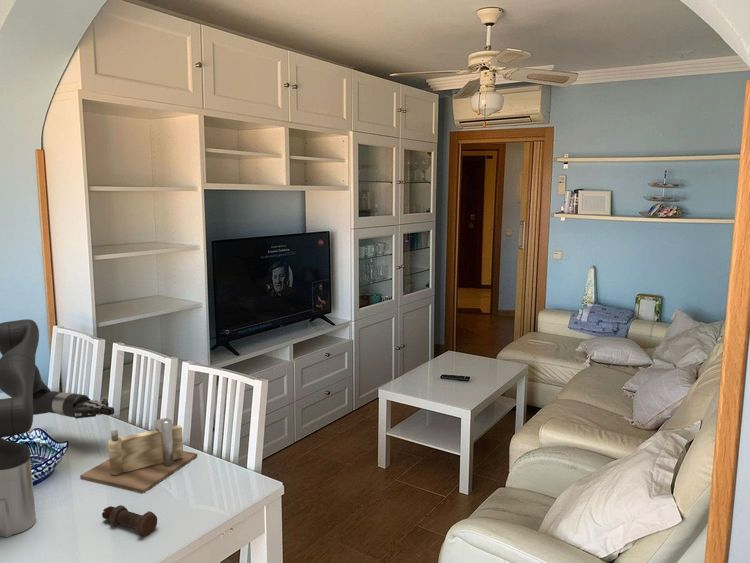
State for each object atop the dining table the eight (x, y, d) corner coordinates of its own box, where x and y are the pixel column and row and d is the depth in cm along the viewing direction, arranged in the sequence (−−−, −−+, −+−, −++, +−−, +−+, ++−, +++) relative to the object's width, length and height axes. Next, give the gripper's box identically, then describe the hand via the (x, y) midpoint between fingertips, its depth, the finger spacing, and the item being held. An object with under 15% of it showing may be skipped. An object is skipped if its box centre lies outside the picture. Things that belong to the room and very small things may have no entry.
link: (111, 476, 170) (109, 443, 168) (109, 471, 173) (107, 439, 171) (184, 458, 181) (182, 428, 179) (180, 454, 184) (179, 424, 182)
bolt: (110, 524, 152) (153, 537, 145) (94, 523, 147) (138, 537, 141) (117, 500, 153) (160, 512, 147) (102, 499, 149) (146, 512, 143)
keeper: (163, 468, 175) (160, 424, 173) (156, 458, 182) (153, 415, 179) (176, 464, 178) (174, 421, 175) (169, 454, 184) (167, 412, 182)
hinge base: (143, 493, 163) (140, 446, 161) (80, 478, 171) (76, 433, 168) (197, 456, 185) (195, 414, 183) (139, 444, 193) (136, 404, 191)
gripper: (52, 400, 184) (95, 407, 178) (86, 387, 197) (127, 393, 191) (54, 423, 185) (96, 430, 179) (88, 409, 198) (128, 415, 192)
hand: (112, 411), depth 185 cm, fingers closed
